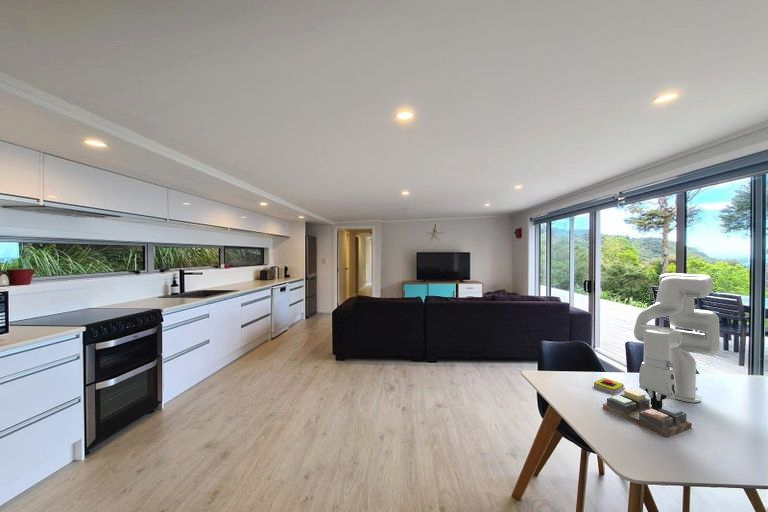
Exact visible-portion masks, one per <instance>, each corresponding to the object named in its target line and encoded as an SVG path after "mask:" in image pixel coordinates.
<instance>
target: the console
mask: <svg viewBox="0 0 768 512" xmlns="http://www.w3.org/2000/svg"><path fill="white" fill-rule="evenodd" d="M619 396H622V397H624V398H627V399H629V400H632V403H631V404H628V405H623V404H620V403H618V402H616V401H613V400H611V397H612V396H611V397H606V402H605V403H602V409H604V410H606V411H608V412H610V413H612V414H614V415H617V416H619V417H621V418H623V419H625V420H627V421H629V422H631V423H634V424H636V425H638V426H640V427H643V428H644V429H647V430H648V429H649V431H650V432H652V433H653V432H654V433H655V434H657V435H660V436H662V437H664V438H668V437H672V436H674V435H677V434H679V433H683V432H685V431H687V430H689V429H692V425H693V424H692V422H690V421H687V413H686V412H683V411H682V414H680V415H677V416H673V415H671V414H668V413H666V412H663V411H661V410H656V411H659V412H661V413H664V414H666V415H668V419H665V420H662V421H660V420H658V419H656V418H653V417H651V416H649V415H646V414H644V411H646V410H649V409H652V406H651V398H650V399H649V398H646V397H645V400H642V401H636V400H634V399H631V398H629V397H626V396H624V393H622V394H620V395H619ZM654 410H655V409H654Z"/></svg>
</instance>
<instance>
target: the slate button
mask: <svg viewBox="0 0 768 512" xmlns="http://www.w3.org/2000/svg"><path fill="white" fill-rule="evenodd" d="M660 410H661V411H663V412H666V413H668V414H671V415H673V416H677V415H680V414H682V412H683V411H682V410H680V409H677V408H675V407H672V406H670V405H667V404H662V408H661V409H660Z"/></svg>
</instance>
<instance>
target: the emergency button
mask: <svg viewBox="0 0 768 512" xmlns="http://www.w3.org/2000/svg"><path fill="white" fill-rule="evenodd" d="M592 389H593V390H594V391H598V392H601V393H605V394H607V395H610V396H617V395H619V393H621V392H623V391H626V389H627V388H626V387H625V385H624V383H622V382H618V381H615V380H612V379H609V378H606V377H602V378H600V379H598V380H595V381H594V382H593V387H592Z"/></svg>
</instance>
